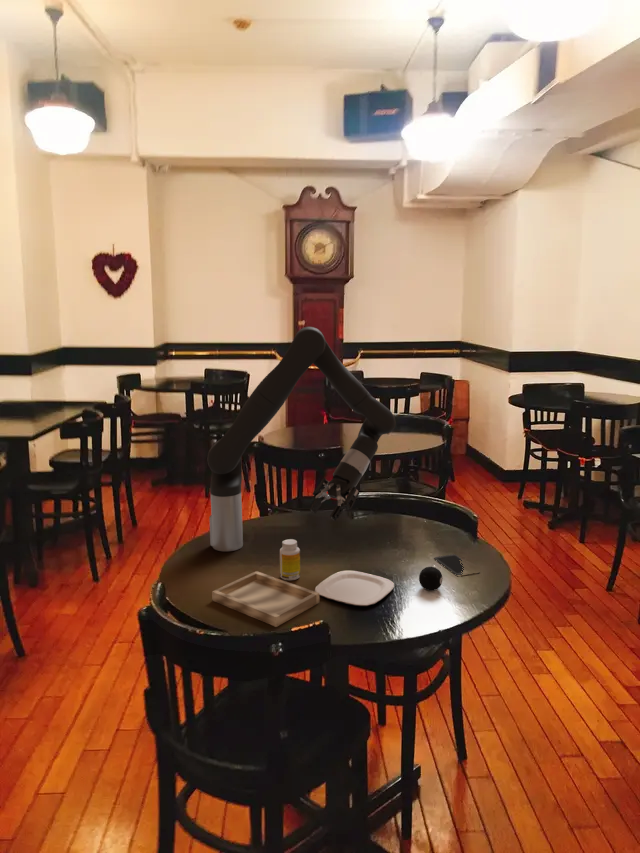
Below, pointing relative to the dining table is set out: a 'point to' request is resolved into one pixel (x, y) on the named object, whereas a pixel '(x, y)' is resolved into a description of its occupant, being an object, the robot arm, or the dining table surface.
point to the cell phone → (451, 563)
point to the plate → (355, 588)
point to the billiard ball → (430, 578)
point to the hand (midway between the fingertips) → (322, 515)
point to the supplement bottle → (289, 560)
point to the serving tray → (266, 598)
